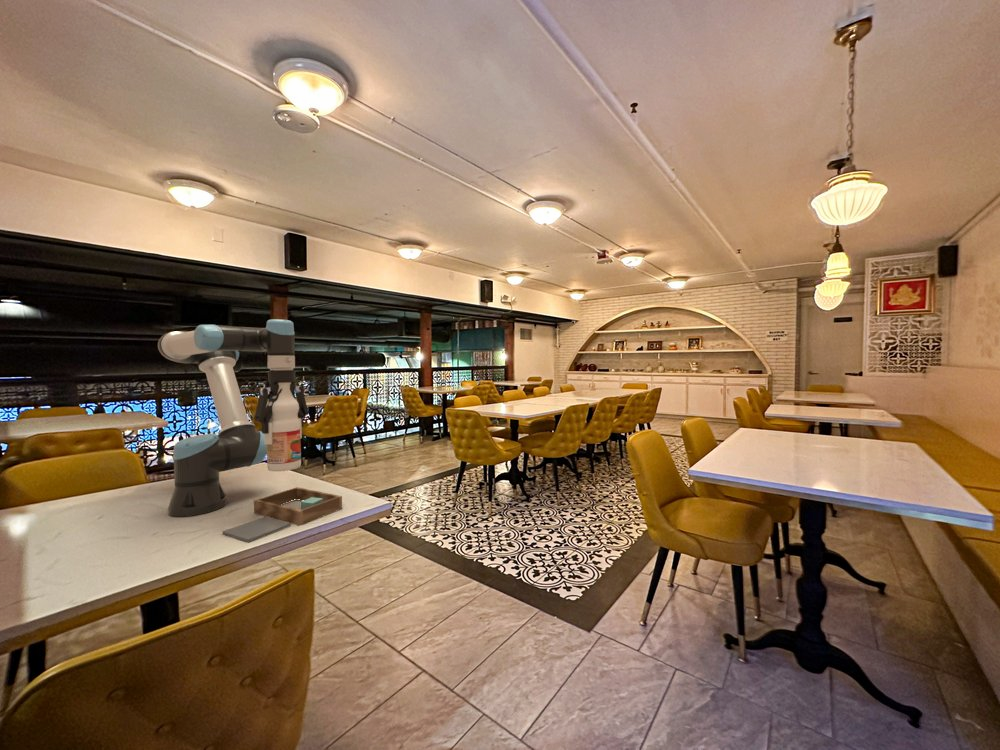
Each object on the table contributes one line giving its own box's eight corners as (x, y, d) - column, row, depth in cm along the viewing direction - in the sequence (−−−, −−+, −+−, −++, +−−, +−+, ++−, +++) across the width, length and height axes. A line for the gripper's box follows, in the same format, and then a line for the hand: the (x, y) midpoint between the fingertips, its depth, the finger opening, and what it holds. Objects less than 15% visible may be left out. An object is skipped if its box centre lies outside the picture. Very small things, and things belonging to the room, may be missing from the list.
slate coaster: (222, 534, 111) (222, 531, 111) (265, 519, 122) (265, 516, 122) (248, 542, 105) (248, 539, 105) (290, 526, 116) (290, 523, 116)
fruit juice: (268, 466, 129) (265, 379, 128) (301, 463, 133) (298, 378, 132) (266, 473, 120) (263, 380, 120) (301, 469, 125) (299, 379, 124)
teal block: (301, 516, 124) (300, 501, 124) (312, 511, 128) (311, 497, 128) (312, 517, 122) (312, 503, 122) (323, 512, 127) (323, 498, 126)
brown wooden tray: (254, 513, 127) (253, 500, 126) (297, 498, 140) (297, 487, 140) (300, 525, 116) (299, 511, 116) (342, 508, 130) (341, 496, 130)
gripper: (254, 370, 114) (256, 448, 115) (319, 368, 134) (321, 435, 135) (238, 370, 118) (240, 446, 118) (304, 369, 137) (305, 434, 138)
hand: (283, 440), depth 127 cm, fingers closed on fruit juice, 9 cm apart
